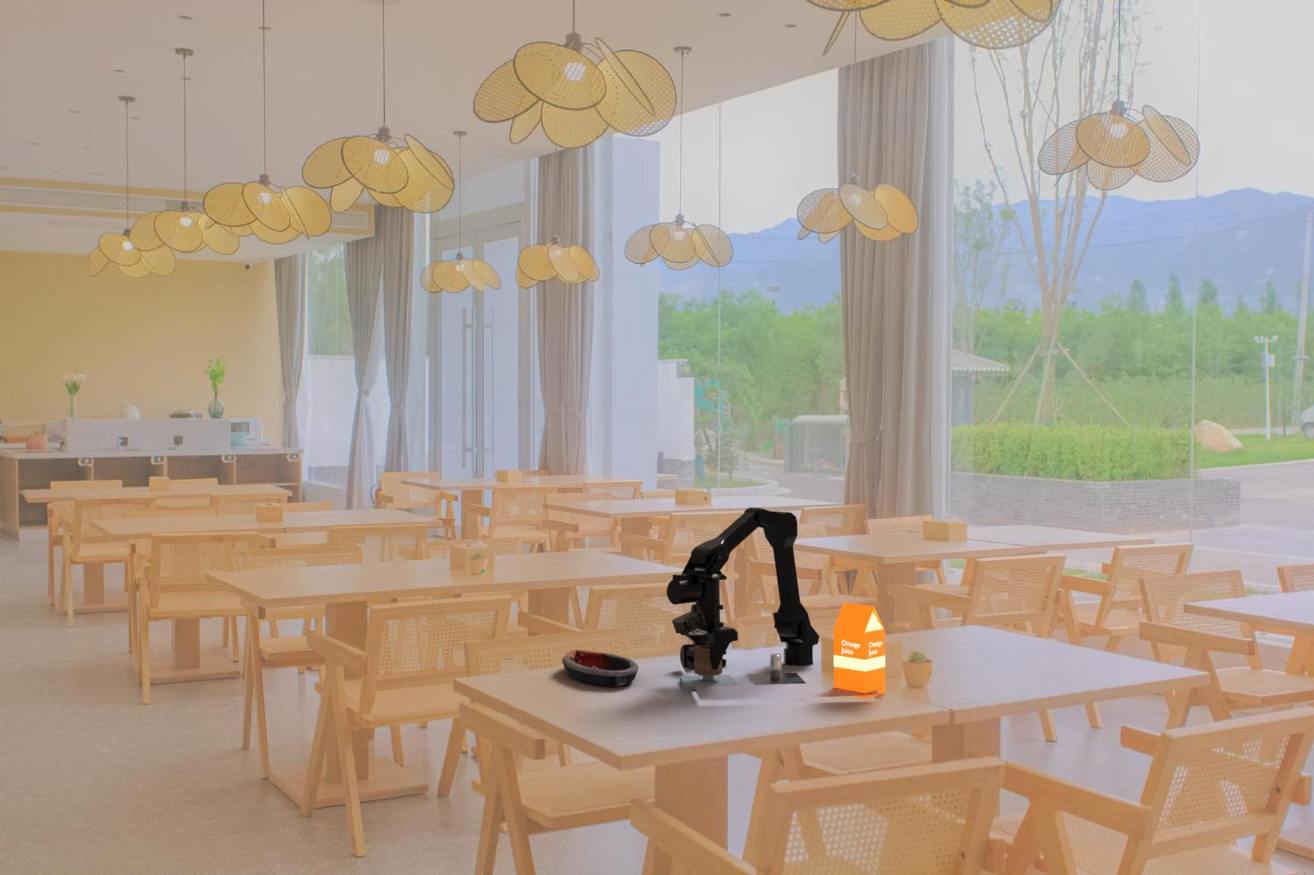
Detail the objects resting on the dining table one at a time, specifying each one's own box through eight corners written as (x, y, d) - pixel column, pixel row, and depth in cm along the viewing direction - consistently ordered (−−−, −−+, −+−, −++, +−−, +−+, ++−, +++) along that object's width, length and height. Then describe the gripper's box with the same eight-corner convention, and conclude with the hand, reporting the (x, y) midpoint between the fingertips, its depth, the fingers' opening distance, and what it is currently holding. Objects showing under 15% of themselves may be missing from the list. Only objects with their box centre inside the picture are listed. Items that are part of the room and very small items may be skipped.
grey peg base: (730, 679, 298) (730, 650, 298) (737, 690, 286) (737, 659, 286) (680, 680, 297) (680, 651, 297) (685, 691, 285) (684, 660, 285)
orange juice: (854, 687, 288) (853, 600, 287) (885, 693, 281) (885, 604, 281) (833, 692, 282) (832, 604, 282) (865, 698, 276) (864, 608, 276)
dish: (591, 693, 285) (591, 671, 285) (548, 669, 313) (548, 649, 313) (653, 687, 291) (653, 665, 291) (606, 664, 320) (606, 645, 319)
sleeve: (713, 669, 295) (713, 641, 295) (725, 674, 290) (725, 645, 290) (691, 672, 293) (690, 644, 293) (703, 676, 287) (702, 647, 287)
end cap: (716, 666, 314) (716, 640, 314) (728, 671, 308) (727, 644, 308) (679, 669, 311) (679, 642, 311) (690, 675, 304) (690, 647, 304)
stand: (796, 678, 299) (796, 649, 299) (806, 688, 287) (806, 658, 287) (746, 679, 298) (746, 650, 298) (754, 689, 286) (754, 660, 286)
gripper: (659, 598, 296) (659, 663, 296) (695, 608, 279) (696, 677, 279) (700, 594, 301) (701, 659, 301) (738, 604, 284) (739, 672, 284)
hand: (708, 667), depth 291 cm, fingers closed on sleeve, 6 cm apart
